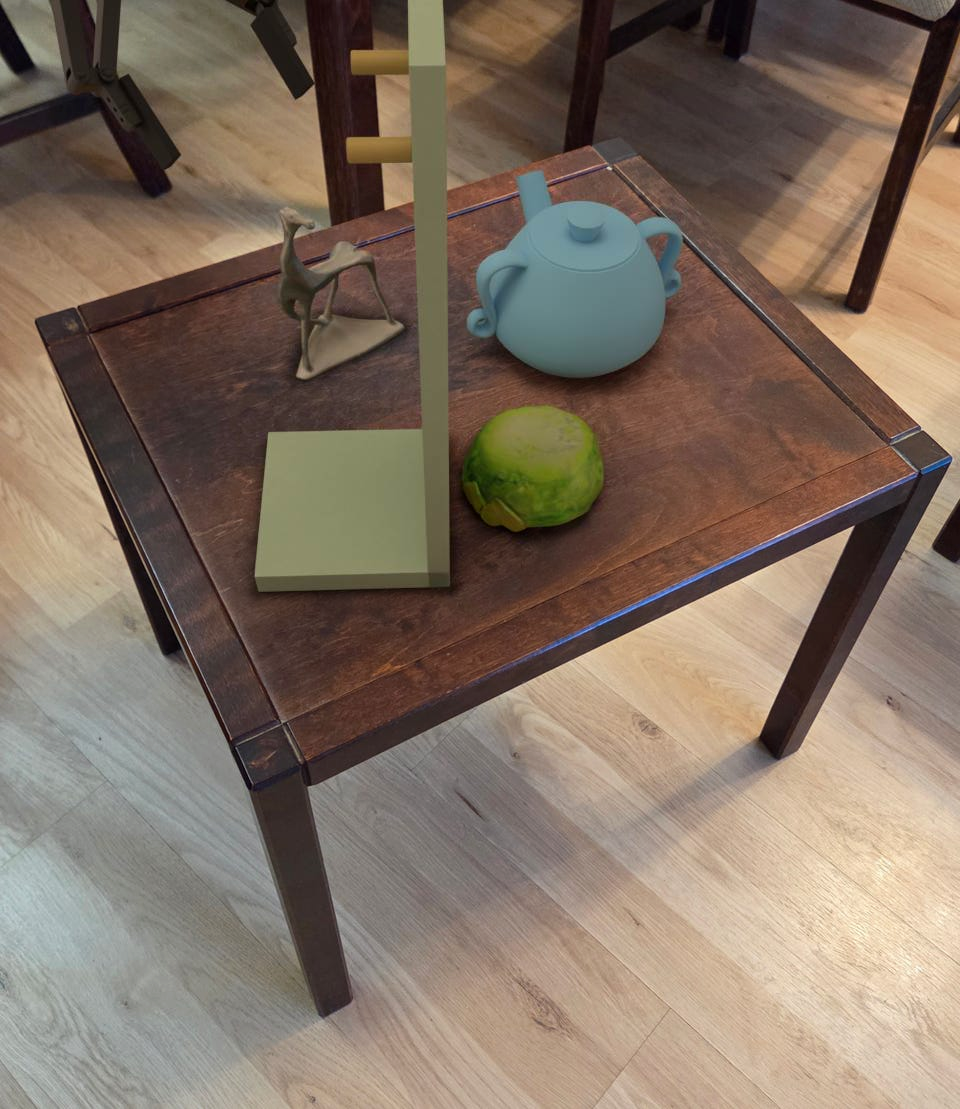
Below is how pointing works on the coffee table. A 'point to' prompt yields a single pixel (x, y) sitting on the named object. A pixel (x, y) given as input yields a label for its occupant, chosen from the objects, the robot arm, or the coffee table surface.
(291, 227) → the figurine
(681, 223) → the coffee table surface
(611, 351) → the teapot
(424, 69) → the rack
